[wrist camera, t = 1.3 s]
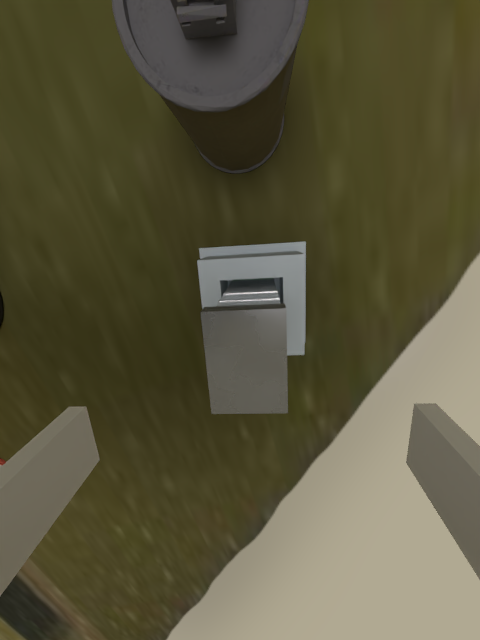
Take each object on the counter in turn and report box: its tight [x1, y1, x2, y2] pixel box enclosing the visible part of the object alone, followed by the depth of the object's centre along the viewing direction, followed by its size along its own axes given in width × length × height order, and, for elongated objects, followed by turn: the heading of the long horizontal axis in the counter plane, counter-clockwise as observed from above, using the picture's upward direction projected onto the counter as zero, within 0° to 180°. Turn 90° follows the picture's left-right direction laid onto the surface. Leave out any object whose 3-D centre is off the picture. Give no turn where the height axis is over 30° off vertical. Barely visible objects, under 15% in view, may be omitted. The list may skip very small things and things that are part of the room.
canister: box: [112, 0, 309, 173], centre depth 21 cm, size 11×10×20 cm
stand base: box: [197, 242, 306, 355], centre depth 32 cm, size 13×13×9 cm
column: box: [201, 278, 288, 414], centre depth 26 cm, size 5×7×19 cm
